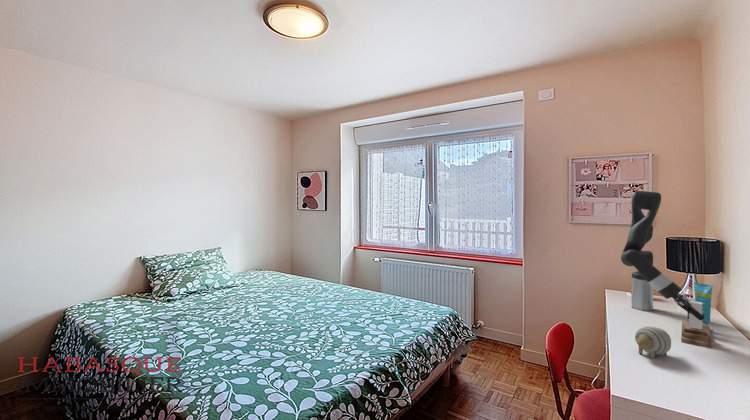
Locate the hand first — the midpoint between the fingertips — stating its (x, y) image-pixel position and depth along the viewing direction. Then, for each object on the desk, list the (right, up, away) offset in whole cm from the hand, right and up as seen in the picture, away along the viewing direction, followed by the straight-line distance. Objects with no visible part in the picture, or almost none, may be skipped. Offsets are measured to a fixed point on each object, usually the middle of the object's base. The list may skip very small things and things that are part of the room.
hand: (702, 318), depth 136 cm
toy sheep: (-30, -11, -10) cm, 34 cm away
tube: (+24, -10, +23) cm, 35 cm away
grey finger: (-1, -5, +2) cm, 5 cm away
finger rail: (+5, -10, +7) cm, 13 cm away
